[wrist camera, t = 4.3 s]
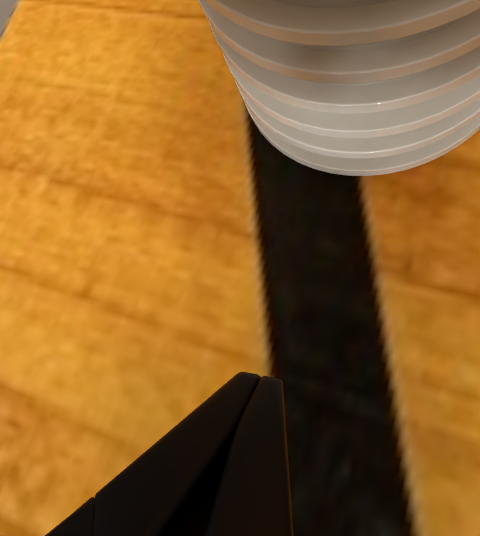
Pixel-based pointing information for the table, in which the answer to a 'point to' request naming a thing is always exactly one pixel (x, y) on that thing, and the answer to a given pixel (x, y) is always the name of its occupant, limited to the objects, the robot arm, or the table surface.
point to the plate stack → (355, 77)
